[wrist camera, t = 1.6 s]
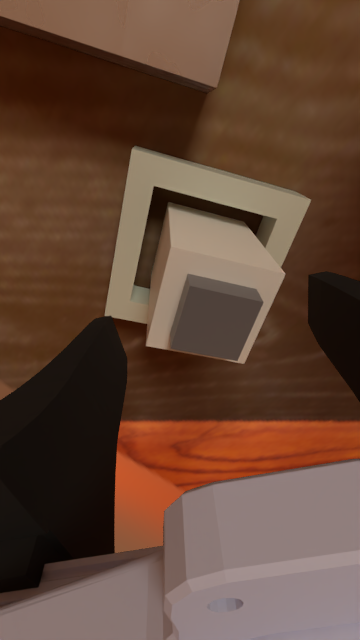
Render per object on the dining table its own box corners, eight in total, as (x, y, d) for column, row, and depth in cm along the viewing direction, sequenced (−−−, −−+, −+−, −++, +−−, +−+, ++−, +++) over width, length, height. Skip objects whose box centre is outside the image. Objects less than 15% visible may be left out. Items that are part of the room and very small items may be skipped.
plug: (243, 221, 17) (295, 286, 11) (219, 289, 20) (249, 380, 13) (168, 201, 17) (171, 257, 10) (151, 274, 19) (144, 361, 12)
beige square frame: (296, 191, 17) (311, 199, 15) (240, 325, 21) (246, 343, 19) (135, 145, 15) (132, 148, 14) (109, 298, 19) (104, 315, 18)
